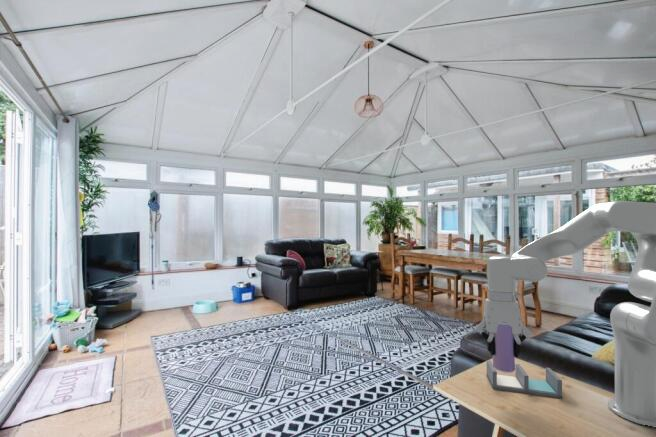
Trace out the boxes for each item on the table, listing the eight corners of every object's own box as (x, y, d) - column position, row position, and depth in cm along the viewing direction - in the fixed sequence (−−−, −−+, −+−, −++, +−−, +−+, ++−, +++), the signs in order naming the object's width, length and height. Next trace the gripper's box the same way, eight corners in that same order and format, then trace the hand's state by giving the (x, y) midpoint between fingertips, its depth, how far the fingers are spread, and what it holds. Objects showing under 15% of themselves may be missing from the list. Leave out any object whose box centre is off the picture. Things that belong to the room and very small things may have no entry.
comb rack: (549, 384, 105) (549, 368, 106) (562, 398, 97) (561, 380, 97) (486, 375, 111) (486, 360, 111) (492, 388, 102) (492, 371, 102)
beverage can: (518, 374, 92) (516, 323, 93) (496, 373, 93) (495, 322, 94) (510, 366, 98) (509, 318, 99) (490, 364, 99) (489, 317, 100)
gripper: (528, 295, 98) (530, 352, 97) (469, 292, 102) (471, 347, 102) (537, 300, 91) (540, 362, 90) (473, 297, 95) (475, 357, 95)
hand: (503, 354), depth 96 cm, fingers closed on beverage can, 6 cm apart
